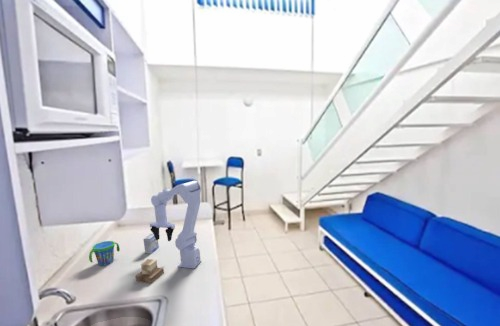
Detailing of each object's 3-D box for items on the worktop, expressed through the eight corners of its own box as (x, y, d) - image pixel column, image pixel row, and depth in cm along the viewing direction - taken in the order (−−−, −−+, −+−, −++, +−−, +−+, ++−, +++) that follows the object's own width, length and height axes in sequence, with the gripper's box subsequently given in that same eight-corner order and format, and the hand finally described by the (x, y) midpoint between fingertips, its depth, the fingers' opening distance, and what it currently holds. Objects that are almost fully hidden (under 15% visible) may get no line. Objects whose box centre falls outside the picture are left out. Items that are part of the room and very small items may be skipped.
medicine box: (152, 253, 163) (150, 239, 161) (144, 253, 164) (143, 238, 162) (159, 247, 170) (157, 233, 169) (152, 247, 171) (150, 233, 170)
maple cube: (157, 269, 139) (156, 259, 138) (151, 275, 134) (150, 265, 134) (148, 268, 140) (147, 259, 140) (142, 274, 136) (141, 264, 135)
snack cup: (116, 254, 164) (114, 237, 163) (124, 259, 157) (122, 241, 156) (87, 265, 153) (84, 247, 152) (94, 271, 146) (91, 252, 145)
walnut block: (164, 274, 140) (163, 268, 140) (152, 284, 132) (151, 278, 132) (148, 271, 143) (148, 266, 143) (136, 281, 135) (135, 275, 135)
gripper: (144, 217, 153) (147, 242, 155) (168, 219, 148) (171, 244, 151) (153, 213, 160) (155, 236, 162) (175, 214, 155) (178, 238, 157)
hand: (163, 239), depth 157 cm, fingers open, 7 cm apart
